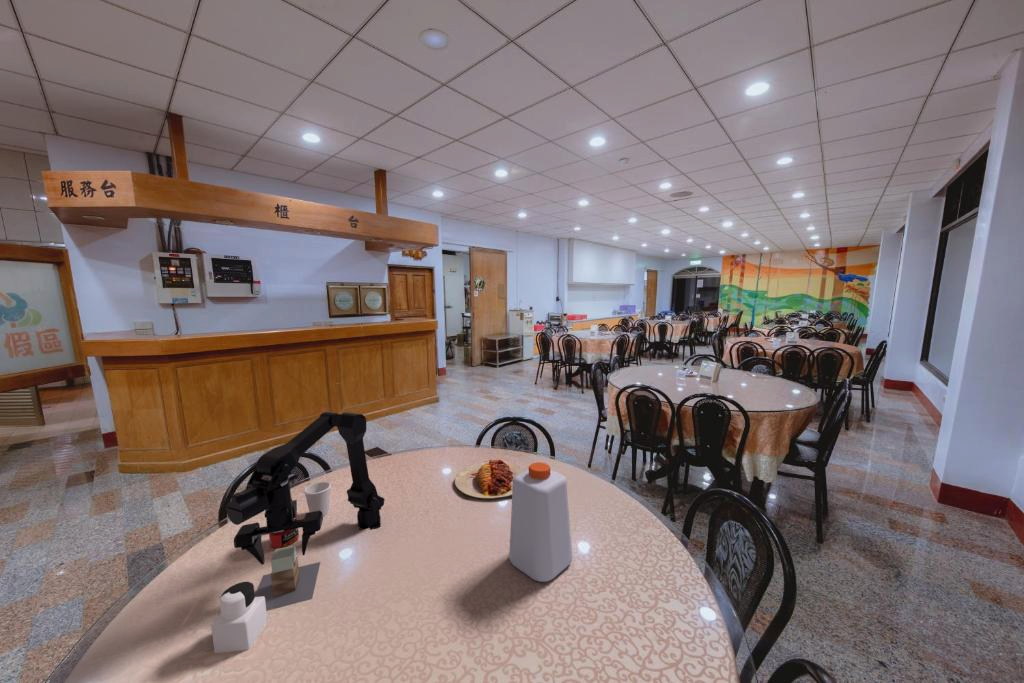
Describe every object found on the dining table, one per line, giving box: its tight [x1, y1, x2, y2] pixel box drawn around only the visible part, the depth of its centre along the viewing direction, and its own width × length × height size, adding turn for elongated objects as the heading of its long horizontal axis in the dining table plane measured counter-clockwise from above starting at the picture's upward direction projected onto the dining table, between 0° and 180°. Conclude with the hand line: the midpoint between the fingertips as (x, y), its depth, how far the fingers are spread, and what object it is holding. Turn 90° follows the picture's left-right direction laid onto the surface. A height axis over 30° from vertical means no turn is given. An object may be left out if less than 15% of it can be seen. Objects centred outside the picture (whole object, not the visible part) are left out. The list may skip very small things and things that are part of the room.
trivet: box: [255, 561, 321, 612], centre depth 96 cm, size 14×14×1 cm
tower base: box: [272, 566, 300, 596], centre depth 96 cm, size 5×5×3 cm
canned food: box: [268, 512, 300, 549], centre depth 114 cm, size 8×8×11 cm
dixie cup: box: [303, 481, 332, 518], centre depth 129 cm, size 8×8×10 cm
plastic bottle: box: [508, 462, 573, 583], centre depth 103 cm, size 15×15×28 cm
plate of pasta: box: [454, 459, 526, 499], centre depth 151 cm, size 31×35×7 cm
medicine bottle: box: [210, 581, 268, 654], centre depth 81 cm, size 7×7×12 cm
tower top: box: [270, 556, 299, 585], centre depth 95 cm, size 5×5×3 cm
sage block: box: [270, 545, 297, 573], centre depth 95 cm, size 4×4×4 cm
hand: (283, 558), depth 95 cm, fingers open, 9 cm apart
